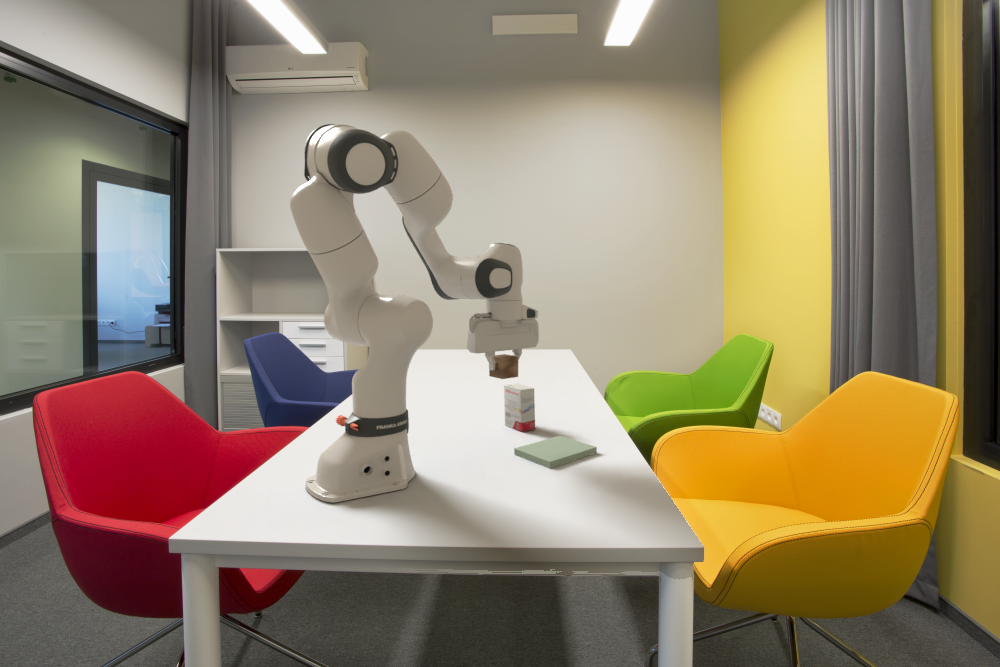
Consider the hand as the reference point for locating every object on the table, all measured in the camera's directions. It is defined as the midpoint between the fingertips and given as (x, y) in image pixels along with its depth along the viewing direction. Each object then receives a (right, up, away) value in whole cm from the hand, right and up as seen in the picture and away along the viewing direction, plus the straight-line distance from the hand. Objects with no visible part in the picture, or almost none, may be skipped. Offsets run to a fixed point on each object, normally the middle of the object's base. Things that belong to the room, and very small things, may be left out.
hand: (503, 368), depth 132 cm
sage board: (+13, -21, -1) cm, 24 cm away
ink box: (+5, -18, +20) cm, 28 cm away
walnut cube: (0, -2, 0) cm, 2 cm away
